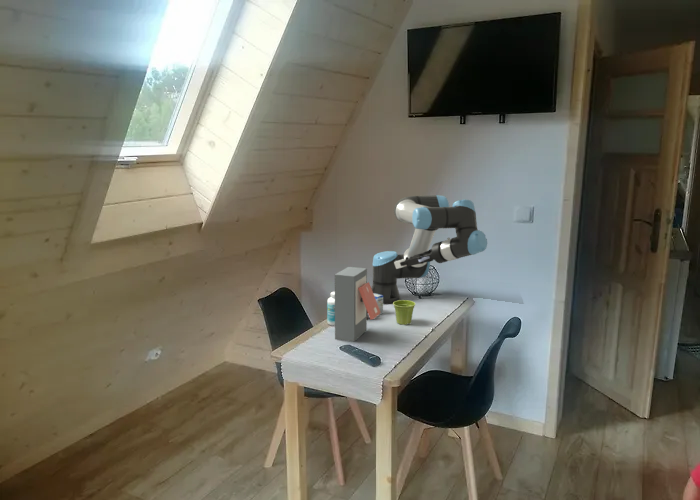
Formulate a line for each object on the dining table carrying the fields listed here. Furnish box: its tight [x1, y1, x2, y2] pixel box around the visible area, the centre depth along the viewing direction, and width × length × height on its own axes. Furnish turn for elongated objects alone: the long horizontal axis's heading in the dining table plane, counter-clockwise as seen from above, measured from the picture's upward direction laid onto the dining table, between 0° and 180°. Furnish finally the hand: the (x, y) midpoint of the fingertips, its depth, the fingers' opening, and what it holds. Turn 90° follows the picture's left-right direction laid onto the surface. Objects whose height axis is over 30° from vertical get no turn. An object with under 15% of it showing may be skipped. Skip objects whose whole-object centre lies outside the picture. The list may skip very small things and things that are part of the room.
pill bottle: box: [326, 291, 335, 327], centre depth 230 cm, size 8×7×14 cm
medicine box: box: [373, 293, 384, 316], centre depth 245 cm, size 8×4×9 cm, turn 50°
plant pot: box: [392, 299, 416, 326], centre depth 232 cm, size 9×9×9 cm
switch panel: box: [334, 266, 368, 343], centre depth 215 cm, size 14×10×26 cm
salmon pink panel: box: [358, 281, 381, 321], centre depth 212 cm, size 8×2×13 cm, turn 158°
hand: (396, 265), depth 212 cm, fingers closed
